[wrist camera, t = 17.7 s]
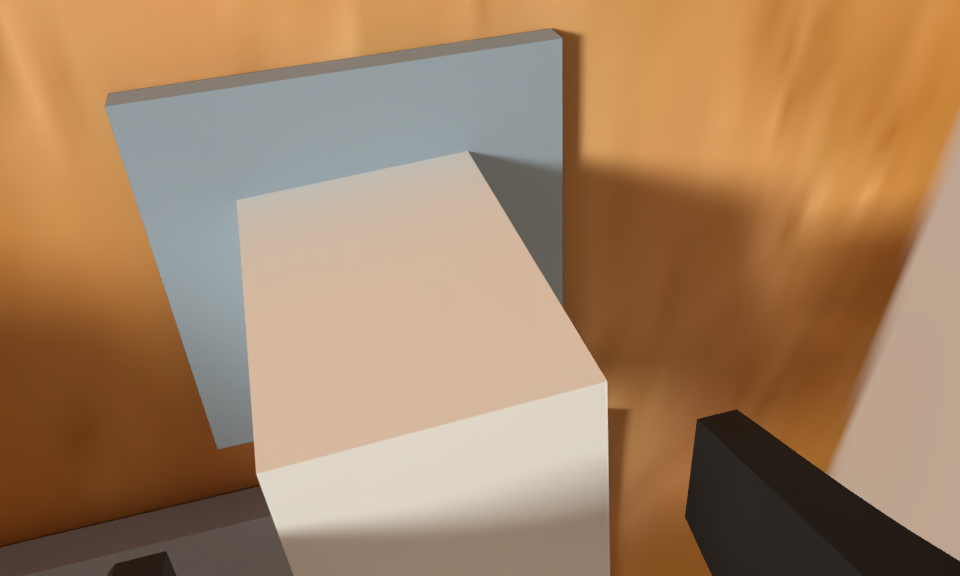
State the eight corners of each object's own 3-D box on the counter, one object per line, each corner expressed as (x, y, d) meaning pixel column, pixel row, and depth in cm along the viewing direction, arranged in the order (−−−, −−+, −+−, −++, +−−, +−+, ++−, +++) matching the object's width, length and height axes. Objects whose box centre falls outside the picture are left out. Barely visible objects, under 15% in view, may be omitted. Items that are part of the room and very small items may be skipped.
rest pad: (217, 431, 19) (217, 449, 19) (107, 93, 15) (105, 106, 14) (554, 356, 21) (562, 371, 20) (551, 28, 16) (562, 38, 16)
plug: (290, 379, 18) (330, 677, 13) (236, 200, 16) (255, 474, 10) (489, 330, 19) (610, 591, 13) (467, 151, 16) (607, 381, 11)
